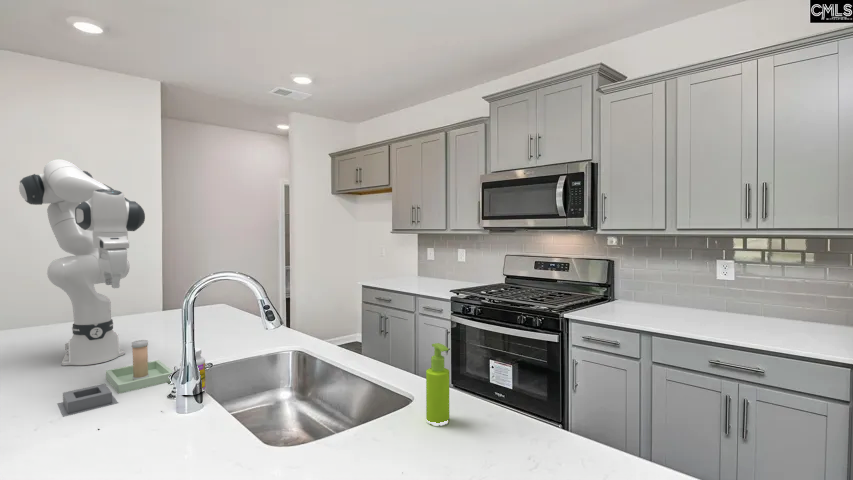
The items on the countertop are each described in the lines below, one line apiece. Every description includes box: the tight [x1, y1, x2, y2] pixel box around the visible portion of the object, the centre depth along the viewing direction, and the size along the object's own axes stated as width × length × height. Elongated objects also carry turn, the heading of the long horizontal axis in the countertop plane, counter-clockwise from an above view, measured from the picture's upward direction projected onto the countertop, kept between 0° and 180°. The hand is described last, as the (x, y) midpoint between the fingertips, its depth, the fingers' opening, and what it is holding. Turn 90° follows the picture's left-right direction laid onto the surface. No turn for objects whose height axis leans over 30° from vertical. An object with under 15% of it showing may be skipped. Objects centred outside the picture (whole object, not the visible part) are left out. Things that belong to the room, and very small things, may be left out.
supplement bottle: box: [179, 347, 207, 392], centre depth 132 cm, size 7×7×13 cm
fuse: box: [131, 339, 149, 381], centre depth 141 cm, size 4×4×12 cm
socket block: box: [56, 383, 119, 418], centre depth 123 cm, size 12×12×4 cm
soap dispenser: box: [425, 342, 450, 423], centre depth 112 cm, size 6×7×20 cm
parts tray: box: [105, 359, 174, 394], centre depth 141 cm, size 18×15×4 cm
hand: (112, 286), depth 137 cm, fingers open, 8 cm apart
